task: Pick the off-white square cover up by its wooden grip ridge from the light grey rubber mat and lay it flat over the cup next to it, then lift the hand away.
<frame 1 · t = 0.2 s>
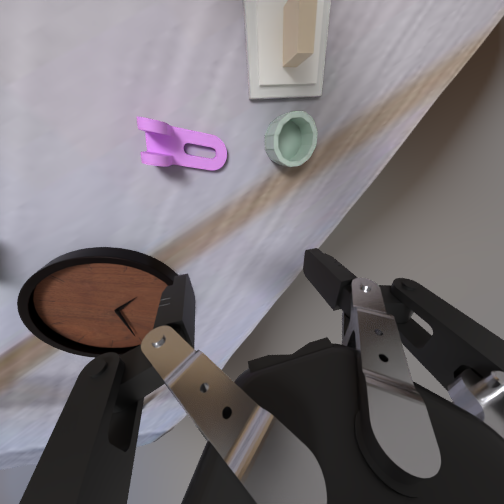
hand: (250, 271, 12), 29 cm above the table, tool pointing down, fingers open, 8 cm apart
bracket: (189, 149, 32), on the table
cup: (284, 141, 35), on the table
wall clock: (121, 302, 44), on the table
cover: (288, 41, 27), point 1 cm above the table, touching mat
mat: (286, 44, 28), on the table
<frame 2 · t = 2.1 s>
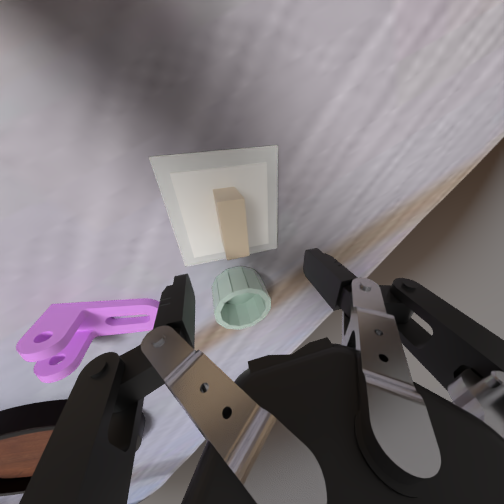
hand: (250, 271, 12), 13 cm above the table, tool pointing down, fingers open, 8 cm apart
bracket: (117, 312, 26), on the table
cup: (237, 286, 29), on the table
wall clock: (63, 433, 39), on the table
cover: (226, 212, 22), point 1 cm above the table, touching mat
mat: (225, 210, 22), on the table
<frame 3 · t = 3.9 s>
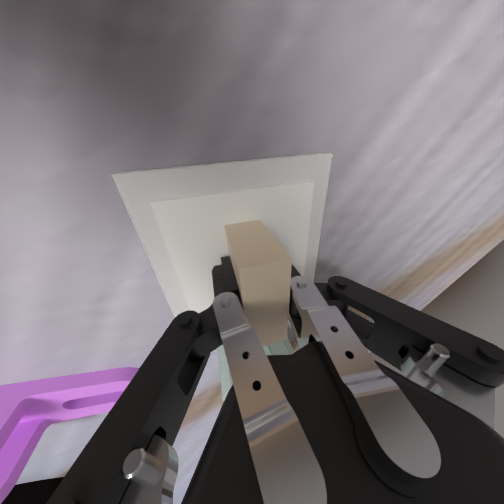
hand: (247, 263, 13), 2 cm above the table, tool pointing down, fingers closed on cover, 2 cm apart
bracket: (83, 386, 19), on the table
cup: (252, 342, 22), on the table
cover: (244, 255, 14), point 1 cm above the table, touching gripper, mat
mat: (241, 249, 15), on the table
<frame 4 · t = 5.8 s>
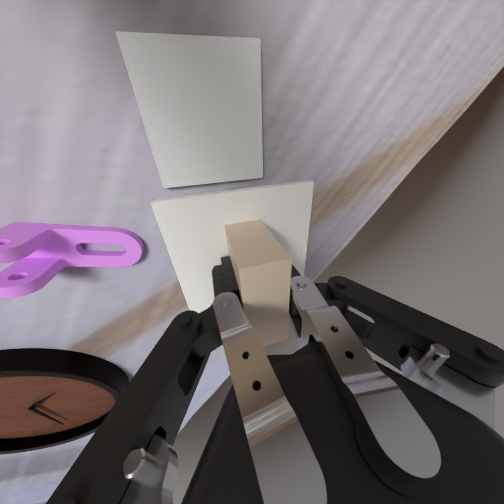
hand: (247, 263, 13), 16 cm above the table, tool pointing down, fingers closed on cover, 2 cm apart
bracket: (90, 243, 25), on the table
wall clock: (41, 392, 37), on the table
cover: (244, 255, 14), point 15 cm above the table, touching gripper
mat: (206, 122, 21), on the table
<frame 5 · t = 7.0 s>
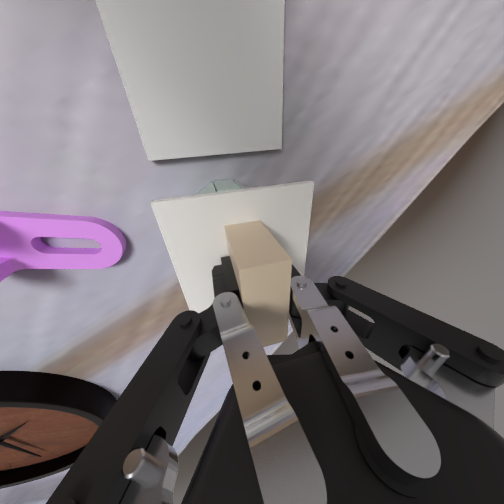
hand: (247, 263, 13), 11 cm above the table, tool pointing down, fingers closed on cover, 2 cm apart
bracket: (54, 238, 19), on the table
cup: (227, 214, 22), on the table
wall clock: (12, 419, 31), on the table
cover: (244, 256, 14), point 10 cm above the table, touching gripper
mat: (205, 65, 15), on the table
when the fingers open (7 cm above the table, at t = 7.8 s): cover stays where it is, resting on cup.
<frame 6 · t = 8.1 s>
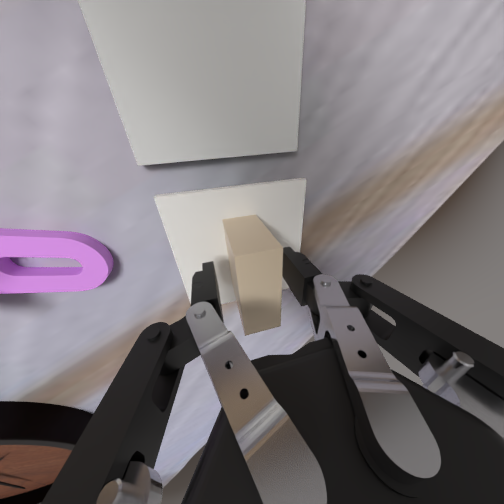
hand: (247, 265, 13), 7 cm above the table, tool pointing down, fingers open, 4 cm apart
bracket: (27, 256, 16), on the table
cover: (241, 249, 15), point 5 cm above the table, touching cup
mat: (207, 48, 12), on the table
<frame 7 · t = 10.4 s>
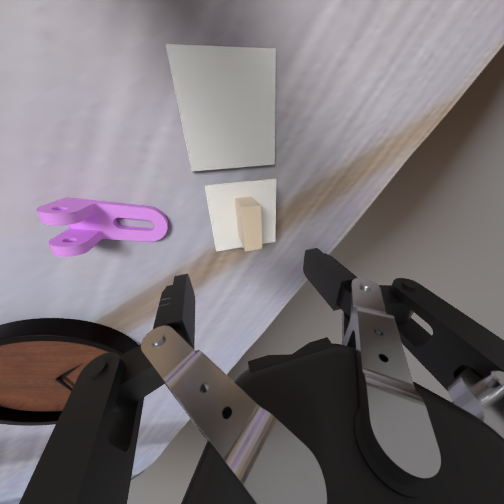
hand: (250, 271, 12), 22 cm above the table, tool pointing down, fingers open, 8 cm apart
bracket: (124, 219, 29), on the table
wall clock: (66, 366, 40), on the table
cover: (243, 216, 27), point 5 cm above the table, touching cup
mat: (229, 116, 25), on the table
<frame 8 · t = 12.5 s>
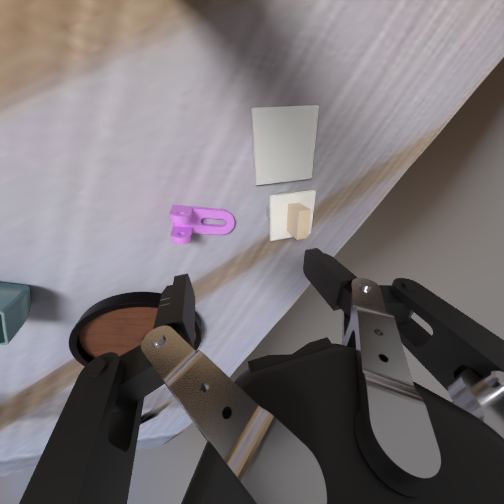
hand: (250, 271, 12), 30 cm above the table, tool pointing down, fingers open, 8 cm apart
bracket: (205, 219, 40), on the table
wall clock: (145, 331, 53), on the table
cover: (291, 215, 39), point 5 cm above the table, touching cup
mat: (283, 147, 37), on the table
flower pot: (14, 291, 38), on the table
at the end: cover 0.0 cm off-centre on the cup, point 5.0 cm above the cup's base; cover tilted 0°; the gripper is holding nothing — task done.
